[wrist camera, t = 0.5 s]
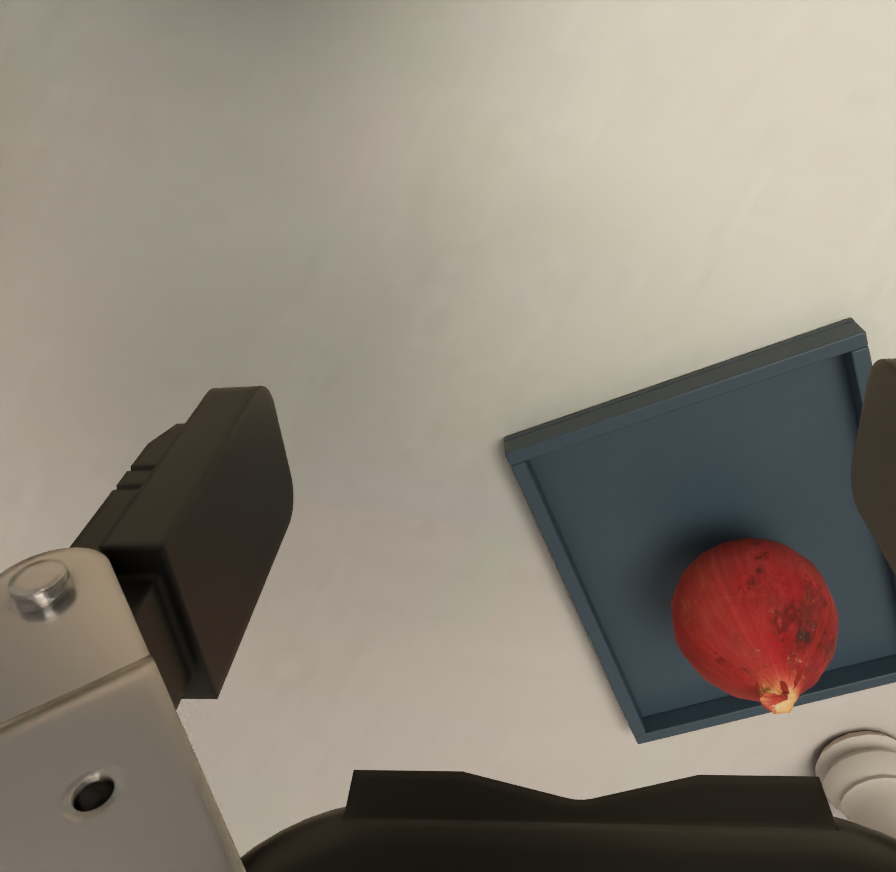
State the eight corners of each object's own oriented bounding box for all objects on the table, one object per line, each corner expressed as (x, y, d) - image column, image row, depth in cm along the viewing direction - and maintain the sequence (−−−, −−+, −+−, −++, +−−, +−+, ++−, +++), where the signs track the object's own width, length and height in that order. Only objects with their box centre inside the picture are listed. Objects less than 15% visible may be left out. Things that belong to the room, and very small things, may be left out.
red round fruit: (723, 474, 32) (787, 612, 25) (830, 541, 33) (919, 691, 26) (628, 569, 34) (663, 719, 28) (731, 629, 36) (789, 786, 29)
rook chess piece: (869, 712, 38) (953, 875, 31) (925, 756, 40) (1017, 922, 33) (792, 758, 40) (855, 922, 33) (848, 799, 41) (919, 965, 35)
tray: (504, 437, 32) (504, 453, 31) (851, 317, 29) (866, 331, 28) (633, 722, 39) (638, 744, 38) (919, 652, 36) (933, 673, 35)
